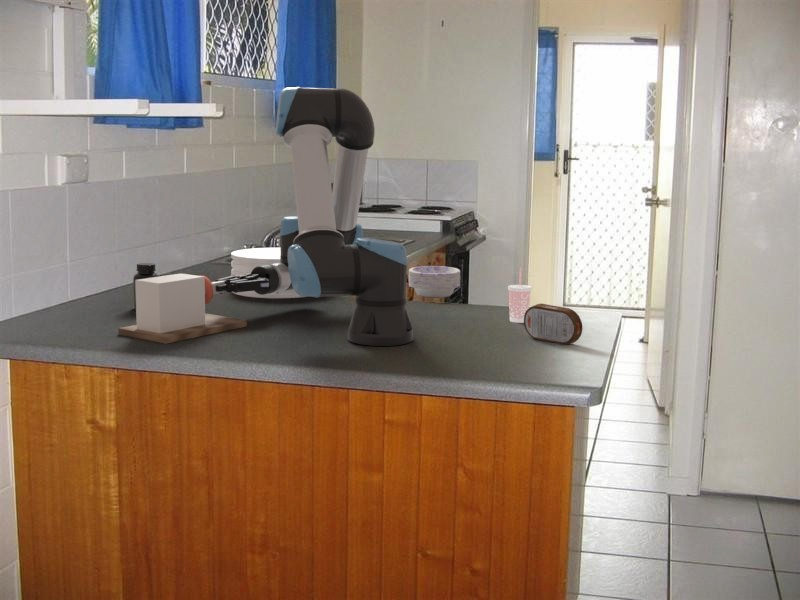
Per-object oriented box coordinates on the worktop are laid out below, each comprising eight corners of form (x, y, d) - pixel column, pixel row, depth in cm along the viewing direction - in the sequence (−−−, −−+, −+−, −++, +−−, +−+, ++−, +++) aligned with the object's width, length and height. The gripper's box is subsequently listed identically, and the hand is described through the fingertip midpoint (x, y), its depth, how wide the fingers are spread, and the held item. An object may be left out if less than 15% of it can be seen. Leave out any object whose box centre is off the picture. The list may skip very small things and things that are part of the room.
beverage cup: (510, 323, 251) (512, 268, 249) (504, 318, 257) (505, 265, 255) (533, 323, 252) (535, 268, 250) (526, 318, 258) (528, 265, 256)
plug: (193, 302, 242) (192, 274, 241) (213, 305, 239) (213, 276, 237) (148, 310, 231) (147, 280, 230) (169, 313, 227) (168, 283, 226)
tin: (582, 345, 227) (584, 309, 225) (574, 347, 224) (576, 311, 223) (528, 335, 237) (530, 301, 235) (520, 337, 235) (522, 302, 233)
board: (200, 318, 251) (200, 312, 251) (246, 326, 242) (246, 320, 242) (118, 334, 230) (118, 328, 230) (165, 343, 221) (165, 337, 221)
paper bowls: (423, 301, 282) (424, 273, 281) (399, 293, 295) (399, 267, 294) (469, 298, 289) (470, 271, 287) (443, 290, 302) (444, 264, 301)
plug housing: (182, 320, 241) (181, 273, 239) (205, 324, 236) (204, 276, 234) (136, 329, 229) (135, 279, 227) (160, 333, 225) (159, 283, 223)
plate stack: (333, 297, 287) (333, 258, 285) (235, 300, 280) (235, 259, 278) (317, 282, 314) (317, 247, 312) (228, 284, 307) (227, 248, 305)
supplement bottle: (153, 311, 260) (151, 266, 258) (129, 310, 261) (127, 265, 259) (164, 307, 266) (163, 262, 264) (140, 305, 268) (139, 261, 266)
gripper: (288, 295, 256) (223, 308, 237) (251, 290, 264) (185, 302, 245) (288, 267, 255) (222, 277, 236) (251, 262, 262) (184, 271, 243)
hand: (203, 289), depth 240 cm, fingers closed
